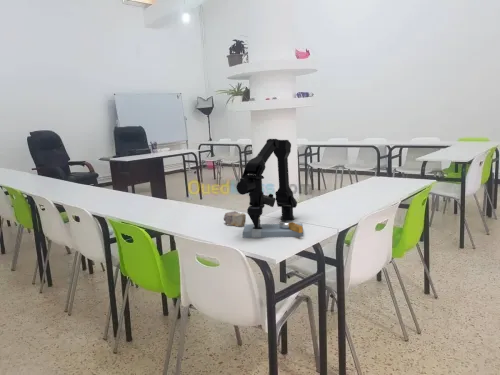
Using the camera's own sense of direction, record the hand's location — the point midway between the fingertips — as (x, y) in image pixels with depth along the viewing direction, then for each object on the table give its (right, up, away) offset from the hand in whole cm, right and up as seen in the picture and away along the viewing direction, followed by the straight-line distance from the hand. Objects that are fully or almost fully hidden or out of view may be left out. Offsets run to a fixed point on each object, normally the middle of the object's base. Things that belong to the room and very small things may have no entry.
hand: (257, 224), depth 173 cm
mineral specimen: (-10, -2, +17) cm, 20 cm away
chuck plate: (+7, -4, 0) cm, 8 cm away
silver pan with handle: (+15, -1, -5) cm, 16 cm away
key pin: (0, -4, +1) cm, 4 cm away
